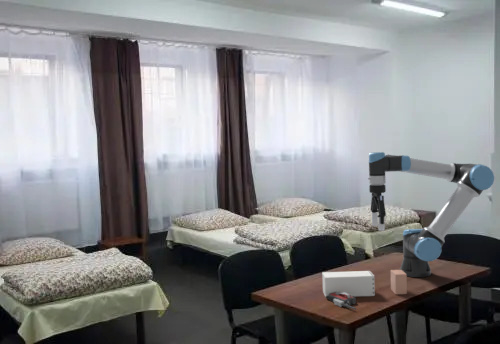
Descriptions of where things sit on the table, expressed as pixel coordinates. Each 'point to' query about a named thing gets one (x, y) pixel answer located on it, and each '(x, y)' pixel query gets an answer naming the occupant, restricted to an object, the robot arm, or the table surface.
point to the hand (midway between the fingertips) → (378, 228)
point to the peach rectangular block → (398, 282)
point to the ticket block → (349, 283)
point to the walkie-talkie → (342, 299)
